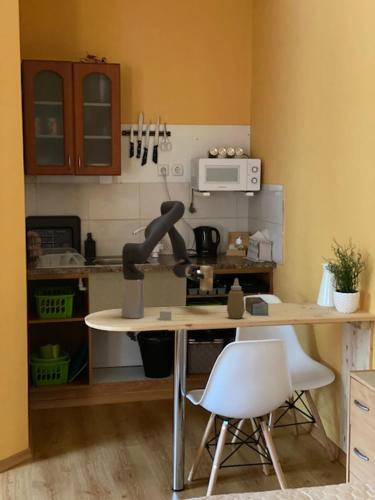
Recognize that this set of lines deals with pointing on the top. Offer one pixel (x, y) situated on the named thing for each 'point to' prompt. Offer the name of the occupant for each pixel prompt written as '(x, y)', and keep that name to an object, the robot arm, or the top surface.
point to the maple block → (206, 278)
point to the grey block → (165, 314)
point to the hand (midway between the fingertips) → (208, 276)
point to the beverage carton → (256, 306)
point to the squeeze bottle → (235, 301)
